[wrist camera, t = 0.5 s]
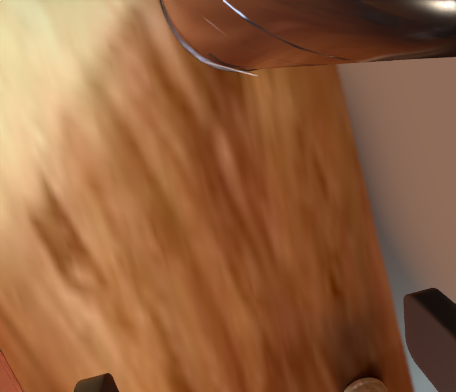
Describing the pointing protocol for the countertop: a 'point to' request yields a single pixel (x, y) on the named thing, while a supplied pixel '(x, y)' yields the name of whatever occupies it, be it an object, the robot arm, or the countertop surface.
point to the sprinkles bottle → (366, 386)
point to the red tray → (7, 377)
